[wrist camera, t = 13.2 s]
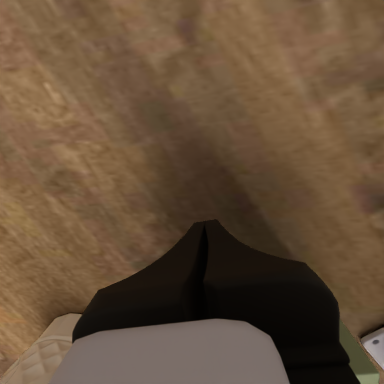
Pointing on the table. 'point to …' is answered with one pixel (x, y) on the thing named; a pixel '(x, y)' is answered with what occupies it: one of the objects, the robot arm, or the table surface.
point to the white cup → (43, 353)
